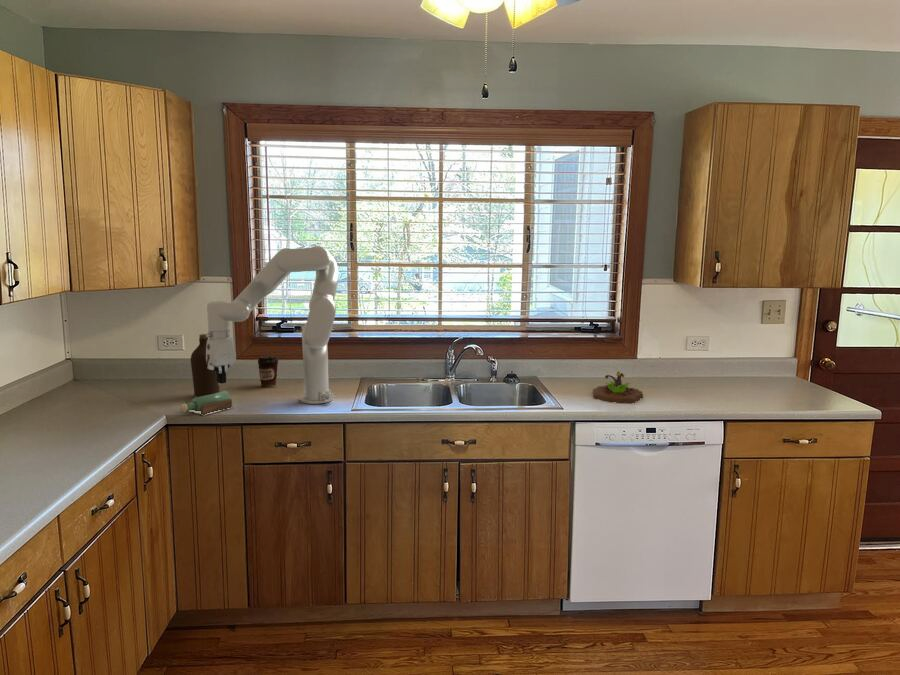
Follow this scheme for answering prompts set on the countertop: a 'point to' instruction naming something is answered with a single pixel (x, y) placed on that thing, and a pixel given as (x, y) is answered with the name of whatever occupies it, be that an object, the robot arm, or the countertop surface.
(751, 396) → the countertop surface
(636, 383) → the countertop surface
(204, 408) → the cradle
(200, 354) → the olive oil
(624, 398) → the plant
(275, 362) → the coffee cup
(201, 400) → the bottle
